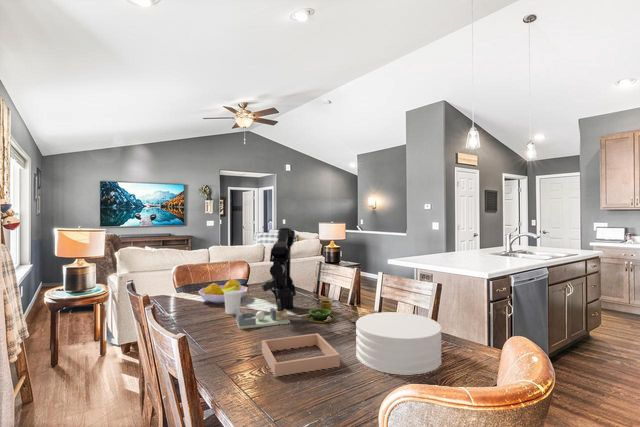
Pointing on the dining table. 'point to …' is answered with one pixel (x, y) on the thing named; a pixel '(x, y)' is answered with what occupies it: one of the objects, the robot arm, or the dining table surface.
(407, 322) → the plate stack
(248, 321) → the pitch
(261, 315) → the ball
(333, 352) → the rectangular frame
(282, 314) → the sled
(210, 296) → the fruit bowl
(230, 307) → the white cup
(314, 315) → the tableware set
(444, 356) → the dining table surface
